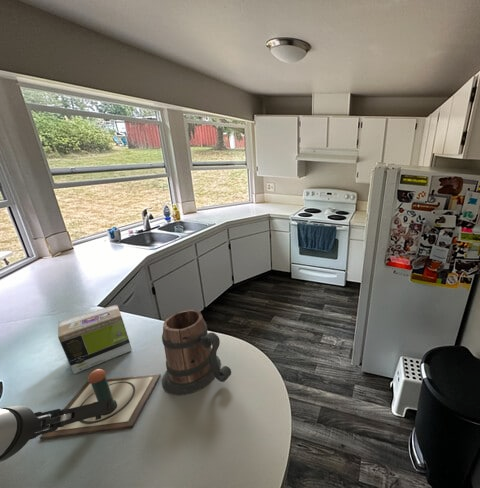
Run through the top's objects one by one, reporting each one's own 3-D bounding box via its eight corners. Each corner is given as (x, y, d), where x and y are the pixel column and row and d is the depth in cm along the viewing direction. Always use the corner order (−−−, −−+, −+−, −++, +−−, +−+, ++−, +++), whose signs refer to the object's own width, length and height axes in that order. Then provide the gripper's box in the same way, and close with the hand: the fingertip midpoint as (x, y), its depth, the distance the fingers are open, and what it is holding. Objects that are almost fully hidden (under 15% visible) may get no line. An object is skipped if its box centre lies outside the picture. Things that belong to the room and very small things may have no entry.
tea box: (127, 336, 94) (117, 303, 89) (132, 351, 87) (122, 315, 82) (72, 357, 84) (57, 320, 79) (72, 375, 77) (57, 336, 72)
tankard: (148, 383, 75) (133, 329, 69) (194, 346, 90) (185, 298, 84) (208, 412, 68) (199, 354, 61) (248, 366, 83) (243, 315, 76)
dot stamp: (96, 416, 64) (81, 378, 60) (105, 403, 68) (92, 366, 63) (112, 414, 65) (98, 376, 61) (120, 401, 68) (108, 364, 64)
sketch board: (40, 440, 60) (38, 436, 60) (87, 383, 75) (86, 380, 74) (132, 427, 63) (131, 424, 63) (160, 375, 78) (160, 372, 78)
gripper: (-171, 513, 30) (-17, 459, 48) (90, 437, 39) (137, 416, 57) (-142, 440, 33) (-7, 415, 51) (95, 385, 42) (139, 380, 60)
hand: (69, 415), depth 54 cm, fingers open, 13 cm apart
